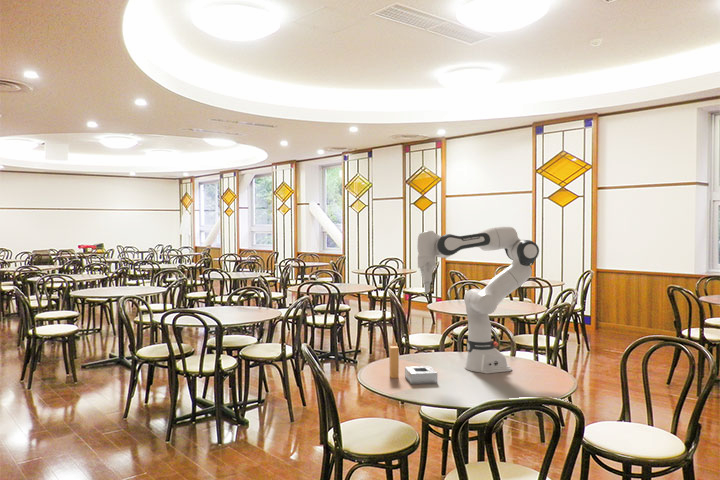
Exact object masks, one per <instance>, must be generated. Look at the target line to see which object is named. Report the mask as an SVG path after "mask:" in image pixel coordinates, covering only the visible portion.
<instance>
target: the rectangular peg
mask: <svg viewBox="0 0 720 480" xmlns="http://www.w3.org/2000/svg"><path fill="white" fill-rule="evenodd" d="M399 350H400V349H399V347H398V346H397V345H395V346H393V345H390V346H389V377H390V378H391V379H399V372H400V371H399V360H400V359H399V354H400V353H399V352H400V351H399Z"/></svg>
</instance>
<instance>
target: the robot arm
mask: <svg viewBox="0 0 720 480" xmlns="http://www.w3.org/2000/svg"><path fill="white" fill-rule="evenodd" d="M471 248H480V249H481V250H482V251H488V252H489V251H497V250H498V251H499V250H502V249H503V250H504V251H505V255H506V256H507V257H508V258H509V259H510V260H511V261H512V262H511V264H510V265H509V266H508V267H506V268H505V269H503V270H502V271H500V272H499V273H497V274H496V275H495V276H493V277H492V278H491V279H490V281H489V283H488V284H487V285H486V286H485V287H484V288H482V289H480V288H471V289H468V290H467V291H466V292H465V294H464V297H463V300H464V301H463V302H464V303H465V304H464V305H465V311H466V318H467V327H468V331H467V332H468V333H467V337H468V338H467V340H466V341H467V343H466V348H467V354H466V355H467V357H466V360H465V361H466V362H465V366H464V368H465V370H467V371H471V372H477V373H481V374H495V373H502V372H511V371H513V370H512V369H513V368H512V366H511V365H510V364H508V361H507V358H506V356H505V355H504V354H503V352H501V351H499V350H498V349H497V348H495V347H498V346H499V343H498V342H497V341H494V340H492V324H491V320H490V316H489V315H491V314H493V313H494V312H496V309H497V307H498V306H499V305H500V304H501V302H502V301H503V300H504V299H505V298H506V297H507V296H509V295H510V294H511V293H514V292H515V290H517V289H518V288H520V287H521V286H522V285H524V284H525V283H526V282H527V281H528V280H529V279H530V278H531V277H532V274H533V270H532V266H533V265H534V263H535V261H536V259H537V258H538V256H539V254H540V249H539V246H538V244H537V243H536V242H535V241H533V240H530V239H520V238H519V236H518V231H516V229H515V228H514V227H512V226H497V227H495V226H494V227H490V228H487V229H484V230H481V231H479V232H477V233H473V234H466V235H455V234H451V233H449V234H448V233H446V234H444V235H439V234H437V233H436V232H435V231H433V230H425V231H422V232H421V233H419V234H418V237H417V253H418V254H417V268H418V269H419V271H420V274H421V282H422V285H424V293H425V294H429V293H430V291H431V283H432V282H433V272H434V270H435V268H437V258H442V259H445V258H449V257H450V256H453V255H456V253H458V252H459V251H461V250H466V249H467V250H468V249H471Z"/></svg>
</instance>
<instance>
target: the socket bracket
mask: <svg viewBox="0 0 720 480" xmlns="http://www.w3.org/2000/svg"><path fill="white" fill-rule="evenodd" d="M404 378H405V379H406V380H407V382H408V383H409V384H410V385H416V386H417V385H432V384H433V385H435V384H438V372H437V371H436V370H435V368H433V367H432V366H431V365H416V366H415V365H413V366H404Z"/></svg>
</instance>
